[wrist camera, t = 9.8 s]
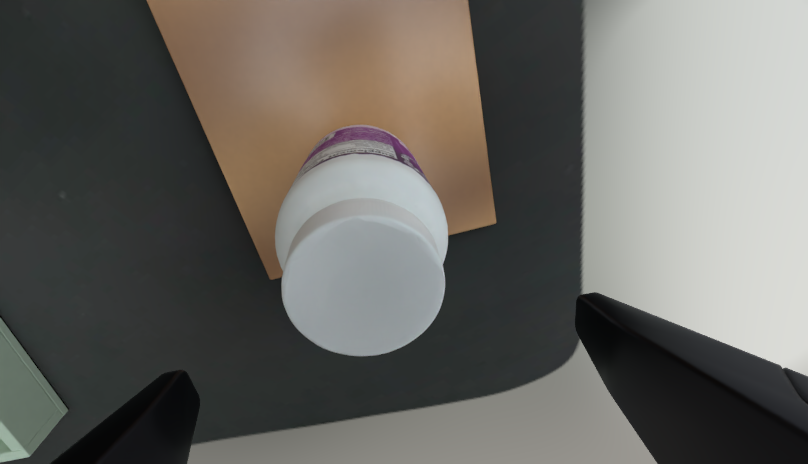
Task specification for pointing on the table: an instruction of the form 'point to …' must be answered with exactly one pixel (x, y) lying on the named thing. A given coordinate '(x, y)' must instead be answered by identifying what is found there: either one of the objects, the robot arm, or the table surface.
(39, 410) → the tray
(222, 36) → the wooden board
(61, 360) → the table surface
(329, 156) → the pill bottle
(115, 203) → the table surface
